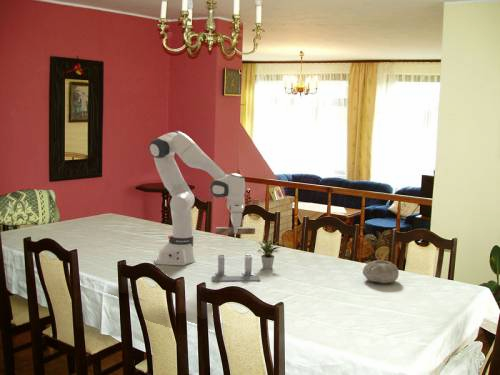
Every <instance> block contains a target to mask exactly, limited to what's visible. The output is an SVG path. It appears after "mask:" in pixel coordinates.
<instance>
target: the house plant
mask: <svg viewBox="0 0 500 375" xmlns="http://www.w3.org/2000/svg"><path fill="white" fill-rule="evenodd" d="M274 240H275V239H274V238H272V239H271V240H270V241H269V237H267V242H266V241H265V240H260V241H258V242H257V243H258V244H260V245H261V246H260V249H261V250H260V249H258V250H257V252H261V253H263V254H261V263H262V268H263V269H267V270H268V269H272V268H273V265H274V262H275V255H274V253H278V254H279V250H278V249H279V248H280V249H282V247H280V246H276V245H277V243H279V241H278V242H277V241H276V243H275V242H274ZM262 242H264V244H263V243H262ZM273 242H274V244H273Z"/></svg>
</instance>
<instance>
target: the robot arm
mask: <svg viewBox="0 0 500 375" xmlns="http://www.w3.org/2000/svg"><path fill="white" fill-rule="evenodd" d="M148 149H149V153H150V154H151V156H152V157H153V160H154V165H155V167H156V171H157V172H158V174H159V177H160V179H161V181H162V183H163V186H164V188H166V190H167V191H168V193H169V194H170V196H171V199H170V202H169V207H170V214H171V221H172V223H171V224H172V235H171V234H169V235H168V243H166V244H165V245H164V246H162V247H161V248H160V249H159V252H158V255H157V256H156V257H154V264H156V265H165V266H166V265H168V266H169V265H170V266H186V265H189V264H193V263H195V262H196V258H195V252H194V239H195V238H194V235H193V232H194V231H193V227H194V226H193V225H194V223H193V218H192V207H193V206H194V204H195V194H194V193H193V192H192V190H191V189H190V186H189V185H188V183H187V182H186V180H185V179H184V176H183V175H182V174H183V173H182V172H181V171H180V168H179V166H178V164H177V162H176V160H175V154H177V156H178V157H179V159H180V160H181V161H182V162H183V163H184V164H186V165H187V166H188V167H189V168H194V169H199V170H203V171H205V172H207V174H209V175H210V176H211V177H212V178H213V181H212V182H211V183H210V186H209V192H210V194H211V195H212V196H213V197H214V198H217V199H222V198H226V203H227V204H226V209H227V210H229V212H230V221H231V224H232V227H234V233H237V230H238V227H242V226H241V225H242V219H243V213H244V210H245V205H246V204H245V201H246V199H245V194H246V193H245V192H246V181H245V177H244V175H242V174H240V173H234V172H232V173H229V174H227V172H225V171H224V170H223V169H222V168H221V167H220V166H219V164H217V163H216V162H215V161H214V160H213V159H211V158H210V157H209V156H208V155H207V154H206V153H205V152H204V151H203V149H201V148H200V147H199V145H198V144H197V143H196V142H195V141H194V140H193V139H192V138H190V137H189V136H188V135H187V134H186V133H183V132H182V131H180V130H174V131H171V132H168V133H163V134H162V135H161V136H159V137H156V138H154V139H153V140H152V141H150V142H149V145H148Z"/></svg>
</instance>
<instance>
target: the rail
mask: <svg viewBox="0 0 500 375" xmlns="http://www.w3.org/2000/svg"><path fill="white" fill-rule="evenodd" d="M215 235H256V227H255V226H240V227H238V230H237V233H234V227H233V226H215Z"/></svg>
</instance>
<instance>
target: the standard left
mask: <svg viewBox="0 0 500 375" xmlns="http://www.w3.org/2000/svg"><path fill="white" fill-rule="evenodd" d="M225 259H226V258H225V254H223V253H222V254H217V271H215V275H216V276H227V273H226V271H225Z"/></svg>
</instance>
